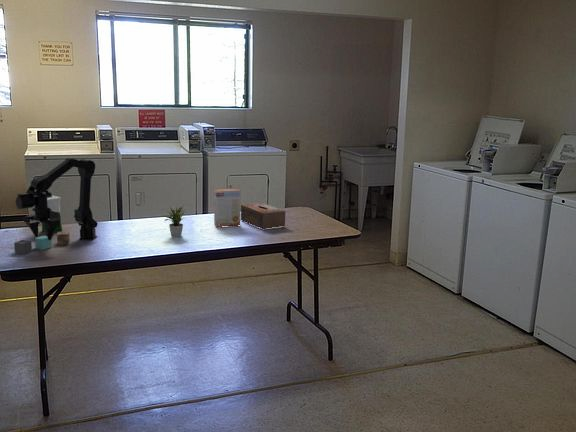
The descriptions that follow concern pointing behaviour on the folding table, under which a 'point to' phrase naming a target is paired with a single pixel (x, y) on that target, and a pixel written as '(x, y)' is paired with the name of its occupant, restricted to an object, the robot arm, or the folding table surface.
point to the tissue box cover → (262, 215)
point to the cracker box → (226, 207)
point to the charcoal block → (23, 247)
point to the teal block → (42, 243)
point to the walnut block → (63, 238)
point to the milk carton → (54, 206)
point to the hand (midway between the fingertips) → (43, 238)
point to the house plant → (175, 222)
